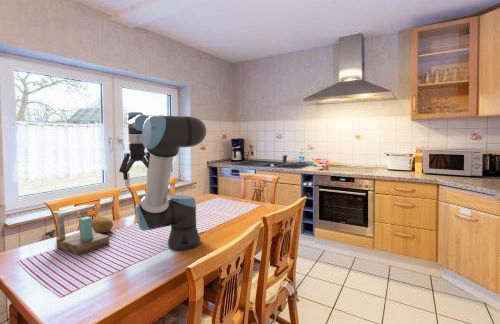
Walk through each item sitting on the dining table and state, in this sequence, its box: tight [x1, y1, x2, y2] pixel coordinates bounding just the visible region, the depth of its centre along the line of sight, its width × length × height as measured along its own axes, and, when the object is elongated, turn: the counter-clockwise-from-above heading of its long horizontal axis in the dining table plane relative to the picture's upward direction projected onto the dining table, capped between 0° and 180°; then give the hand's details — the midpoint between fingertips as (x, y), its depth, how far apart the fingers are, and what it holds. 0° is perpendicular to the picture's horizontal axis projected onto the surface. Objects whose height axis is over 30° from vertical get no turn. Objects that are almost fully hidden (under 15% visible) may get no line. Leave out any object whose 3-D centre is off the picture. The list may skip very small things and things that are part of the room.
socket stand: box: [52, 204, 110, 256], centre depth 129 cm, size 18×15×17 cm
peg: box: [78, 216, 93, 242], centre depth 127 cm, size 4×4×14 cm
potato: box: [91, 216, 114, 234], centre depth 148 cm, size 10×14×8 cm
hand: (139, 183), depth 142 cm, fingers open, 13 cm apart
